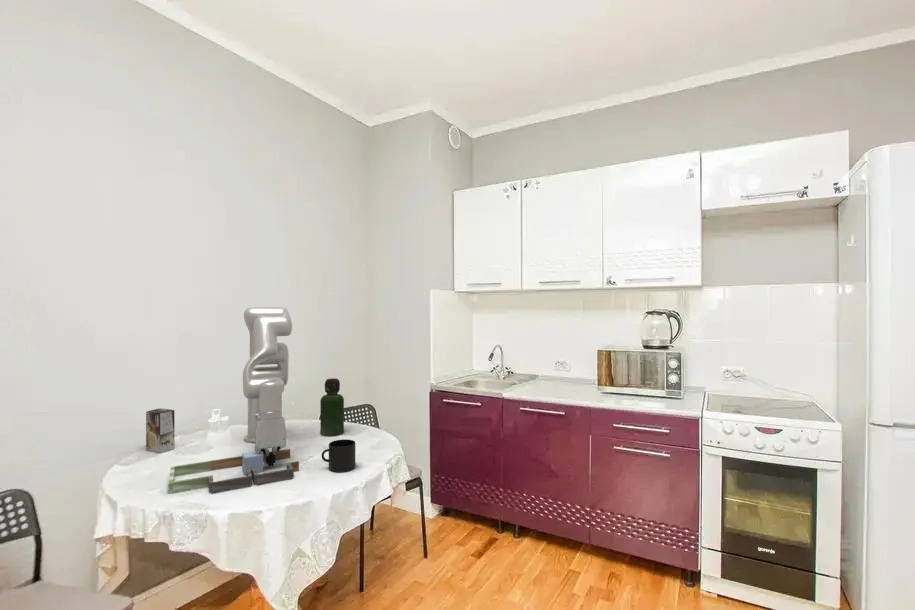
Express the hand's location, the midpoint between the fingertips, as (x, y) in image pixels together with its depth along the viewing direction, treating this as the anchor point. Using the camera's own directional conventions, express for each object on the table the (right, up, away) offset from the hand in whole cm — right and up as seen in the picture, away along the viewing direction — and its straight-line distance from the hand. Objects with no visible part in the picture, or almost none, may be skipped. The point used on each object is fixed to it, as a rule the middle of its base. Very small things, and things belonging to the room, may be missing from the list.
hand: (270, 465), depth 165 cm
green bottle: (+10, -1, +44) cm, 46 cm away
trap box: (-8, -1, -9) cm, 12 cm away
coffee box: (-54, -1, +21) cm, 58 cm away
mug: (+25, -1, 0) cm, 25 cm away
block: (-5, -1, -3) cm, 6 cm away
